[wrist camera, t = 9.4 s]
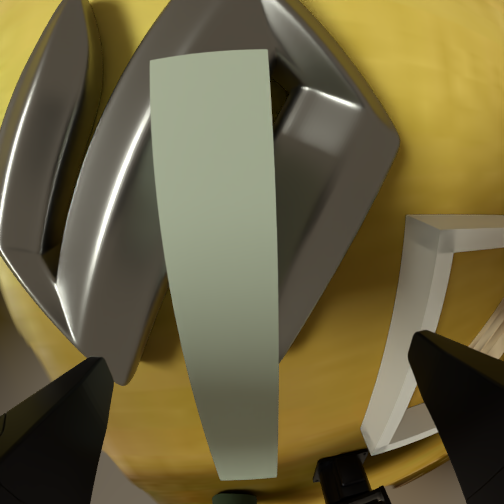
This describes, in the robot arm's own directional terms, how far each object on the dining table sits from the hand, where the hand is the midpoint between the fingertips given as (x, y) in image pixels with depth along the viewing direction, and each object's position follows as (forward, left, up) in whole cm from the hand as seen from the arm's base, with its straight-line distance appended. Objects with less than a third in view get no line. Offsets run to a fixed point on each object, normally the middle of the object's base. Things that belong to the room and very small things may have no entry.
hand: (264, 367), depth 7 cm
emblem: (+5, +5, -12) cm, 14 cm away
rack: (-10, -21, -11) cm, 26 cm away
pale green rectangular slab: (+1, +1, -7) cm, 7 cm away
